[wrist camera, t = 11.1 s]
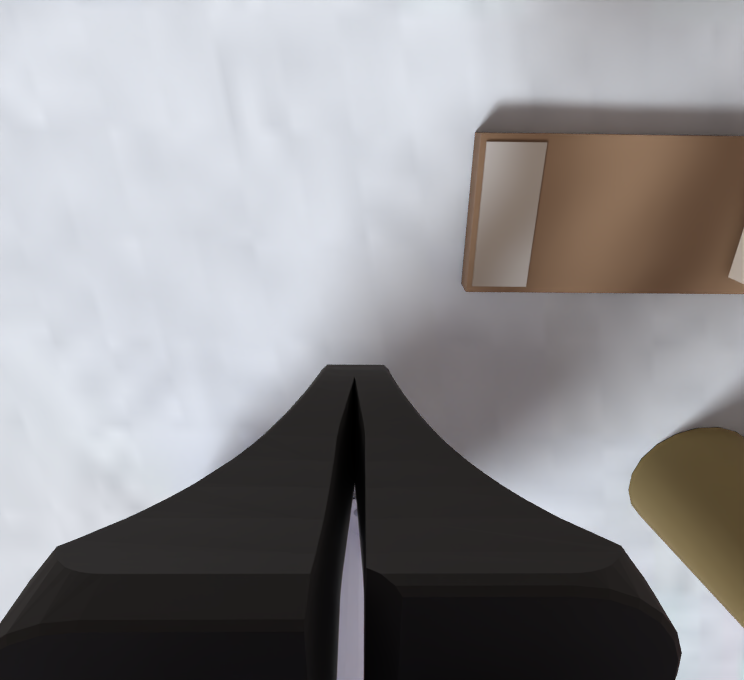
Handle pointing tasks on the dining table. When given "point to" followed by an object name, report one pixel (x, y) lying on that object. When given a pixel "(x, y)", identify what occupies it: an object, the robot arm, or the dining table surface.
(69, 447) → the dining table surface
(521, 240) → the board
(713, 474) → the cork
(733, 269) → the cream cube block
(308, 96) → the dining table surface
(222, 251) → the dining table surface
